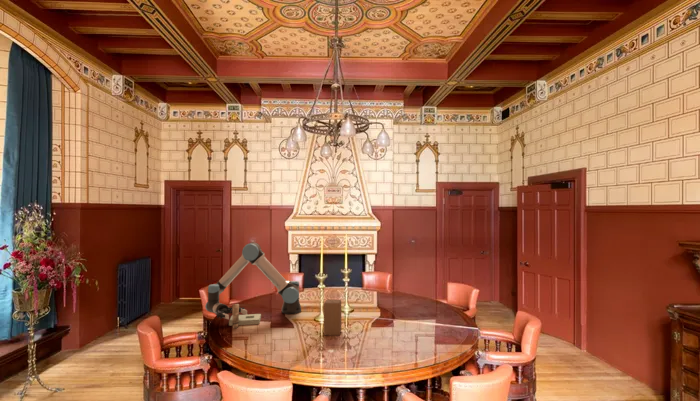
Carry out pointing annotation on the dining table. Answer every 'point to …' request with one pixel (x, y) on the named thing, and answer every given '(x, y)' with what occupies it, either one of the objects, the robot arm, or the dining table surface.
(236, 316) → the peg
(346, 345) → the dining table surface
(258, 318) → the board
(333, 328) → the block
